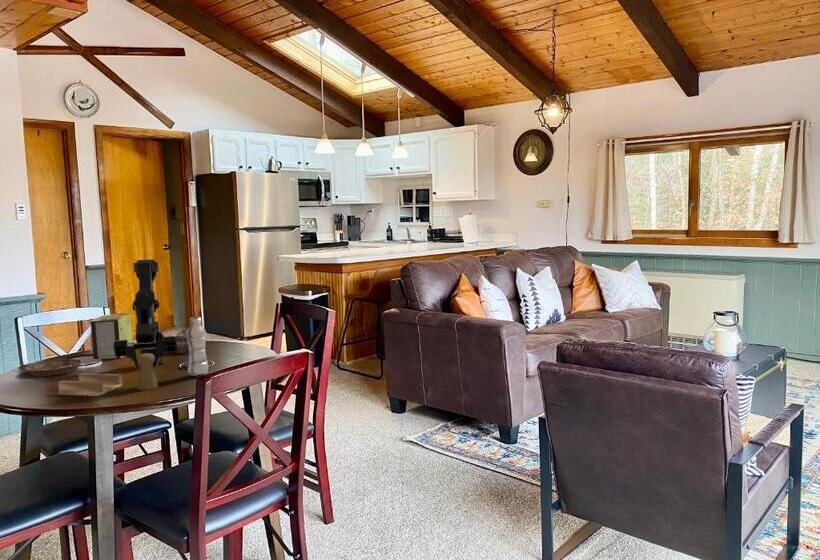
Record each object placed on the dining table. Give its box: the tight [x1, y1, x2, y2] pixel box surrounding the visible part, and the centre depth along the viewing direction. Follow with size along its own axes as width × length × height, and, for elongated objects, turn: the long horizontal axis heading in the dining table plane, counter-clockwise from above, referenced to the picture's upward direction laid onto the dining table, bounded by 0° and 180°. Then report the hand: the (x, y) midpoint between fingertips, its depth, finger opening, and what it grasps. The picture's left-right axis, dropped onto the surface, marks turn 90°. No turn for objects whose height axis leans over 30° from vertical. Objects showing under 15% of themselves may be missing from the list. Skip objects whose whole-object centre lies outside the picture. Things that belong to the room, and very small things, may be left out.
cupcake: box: [175, 326, 190, 354], centre depth 248 cm, size 10×10×10 cm
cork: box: [136, 353, 159, 391], centre depth 195 cm, size 6×6×11 cm
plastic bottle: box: [186, 316, 209, 377], centre depth 208 cm, size 6×7×20 cm
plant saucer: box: [24, 358, 83, 377], centre depth 219 cm, size 18×18×3 cm
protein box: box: [90, 313, 133, 360], centre depth 244 cm, size 10×15×16 cm
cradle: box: [57, 372, 124, 397], centre depth 194 cm, size 12×14×4 cm
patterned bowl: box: [179, 353, 215, 370], centre depth 224 cm, size 12×12×5 cm
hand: (146, 368), depth 193 cm, fingers closed on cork, 5 cm apart
